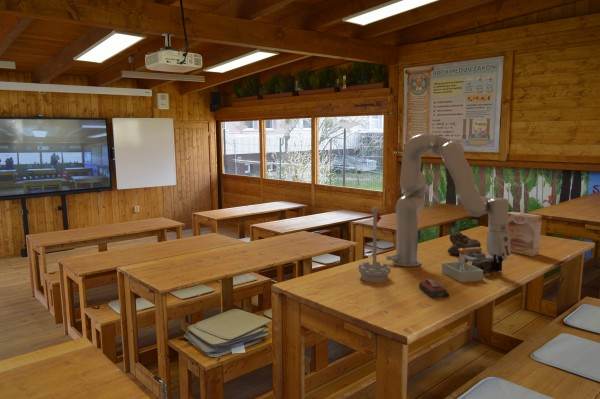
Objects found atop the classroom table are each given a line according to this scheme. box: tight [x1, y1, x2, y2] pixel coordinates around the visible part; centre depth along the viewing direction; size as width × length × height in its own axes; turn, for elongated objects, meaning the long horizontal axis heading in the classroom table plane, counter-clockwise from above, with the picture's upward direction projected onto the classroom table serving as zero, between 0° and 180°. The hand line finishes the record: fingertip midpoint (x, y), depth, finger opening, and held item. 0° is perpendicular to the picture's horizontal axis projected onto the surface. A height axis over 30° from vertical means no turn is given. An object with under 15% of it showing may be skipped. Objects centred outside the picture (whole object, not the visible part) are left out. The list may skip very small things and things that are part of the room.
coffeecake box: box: [508, 211, 543, 257], centre depth 232 cm, size 15×7×20 cm, turn 37°
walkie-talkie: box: [418, 277, 450, 299], centre depth 180 cm, size 9×4×20 cm
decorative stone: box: [447, 231, 482, 256], centre depth 232 cm, size 16×11×15 cm
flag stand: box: [358, 206, 391, 283], centre depth 193 cm, size 13×13×30 cm
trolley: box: [457, 246, 492, 271], centre depth 209 cm, size 11×14×8 cm
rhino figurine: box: [478, 258, 495, 276], centre depth 200 cm, size 4×14×6 cm, turn 128°
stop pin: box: [458, 248, 467, 272], centre depth 195 cm, size 4×4×11 cm
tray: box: [441, 261, 484, 283], centre depth 196 cm, size 10×14×4 cm
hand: (497, 270), depth 196 cm, fingers closed
